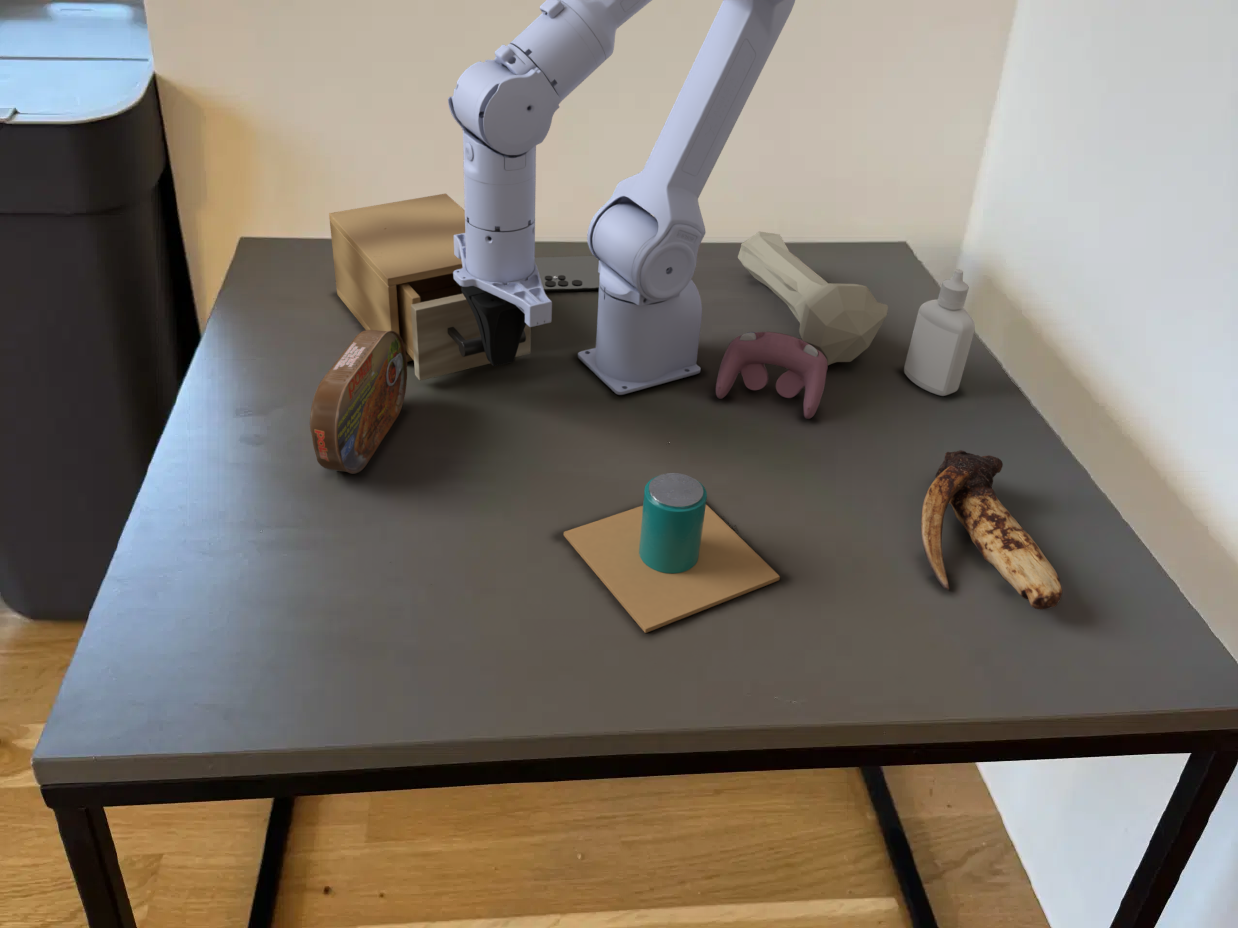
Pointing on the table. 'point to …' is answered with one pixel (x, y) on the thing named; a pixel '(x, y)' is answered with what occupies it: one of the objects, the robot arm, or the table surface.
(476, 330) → the drawer
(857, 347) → the faceted club
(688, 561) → the can
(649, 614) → the mat
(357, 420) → the tin
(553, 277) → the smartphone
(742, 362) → the video game controller
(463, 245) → the robot arm
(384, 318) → the cabinet
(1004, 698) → the table surface
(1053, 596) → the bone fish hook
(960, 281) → the eye dropper bottle
